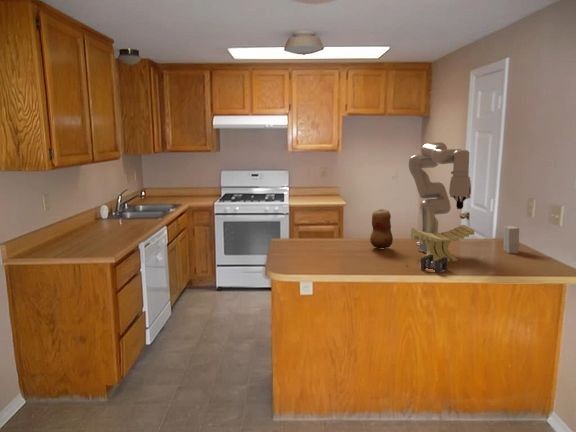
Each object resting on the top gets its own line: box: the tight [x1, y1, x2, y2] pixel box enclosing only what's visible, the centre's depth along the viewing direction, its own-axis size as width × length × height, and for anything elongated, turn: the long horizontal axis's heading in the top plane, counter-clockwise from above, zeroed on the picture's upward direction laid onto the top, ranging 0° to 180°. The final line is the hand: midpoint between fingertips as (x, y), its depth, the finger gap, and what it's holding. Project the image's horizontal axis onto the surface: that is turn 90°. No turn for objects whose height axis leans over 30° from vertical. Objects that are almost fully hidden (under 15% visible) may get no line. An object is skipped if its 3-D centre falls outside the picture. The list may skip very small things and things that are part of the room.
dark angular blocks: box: [434, 257, 448, 275], centre depth 235 cm, size 2×9×8 cm, turn 133°
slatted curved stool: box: [410, 224, 475, 262], centre depth 258 cm, size 30×16×18 cm, turn 94°
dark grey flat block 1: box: [420, 254, 434, 271], centre depth 241 cm, size 2×9×6 cm, turn 133°
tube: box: [426, 259, 444, 271], centre depth 239 cm, size 10×4×4 cm, turn 43°
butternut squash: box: [369, 208, 394, 249], centre depth 282 cm, size 14×13×25 cm
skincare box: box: [503, 225, 520, 254], centre depth 266 cm, size 8×6×15 cm
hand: (459, 208), depth 240 cm, fingers closed
